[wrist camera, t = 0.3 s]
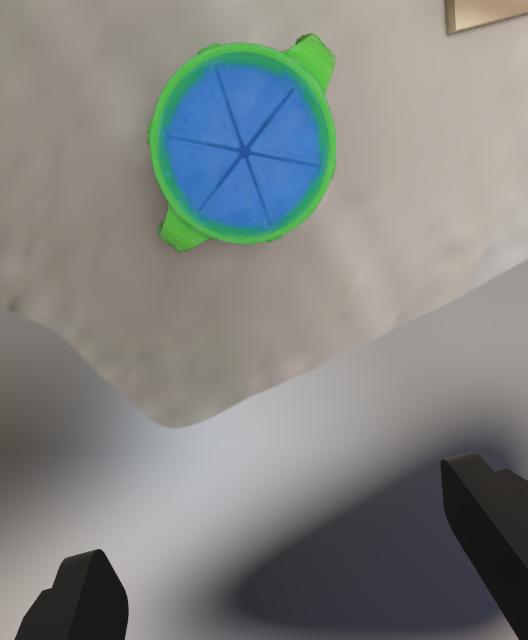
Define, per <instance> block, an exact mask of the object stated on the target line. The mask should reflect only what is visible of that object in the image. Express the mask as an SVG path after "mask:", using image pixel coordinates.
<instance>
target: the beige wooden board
mask: <svg viewBox="0 0 528 640" xmlns="http://www.w3.org/2000/svg"><path fill="white" fill-rule="evenodd" d="M524 14H528V0H446V16H447V34H451V33H455V32H459V31H463V30H467V29H471V28H474V27H478V26H482V25H486V24H490V23H494V22H498V21H501V20H505V19H509V18H513V17H517V16H521V15H524Z"/></svg>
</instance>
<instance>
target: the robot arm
mask: <svg viewBox="0 0 528 640" xmlns="http://www.w3.org/2000/svg"><path fill="white" fill-rule="evenodd" d="M440 467H441V480H442V493H443V505H444V511H445V514H446V518H447V520H448V523H449V525H450V527H451V530H452V532H453V533H454V535H455V537H456V538H457V540H458V542H459V543H460V545H461V547H462V548H463V550H464V552H465V553H466V555H467V556H468V558H469V560H470V561H471V563H472V564H473V566H474V568H475V569H476V571H477V573H478V574H479V576H480V577H481V579H482V580H483V582H484V584H485V586H486V587H487V589H488V590H489V592H490V594H491V595H492V597H493V598H494V600H495V602H496V603H497V605H498V607H499V608H500V610H501V611H502V613H503V615H504V616H505V618H506V619H507V621H508V623H509V624H510V626H511V628H512V629H513V631H514V632H515V634H516V636H517V637H518V639H519V640H528V481H527V480H525V479H524V478H522V477H520V476H518V475H517V474H515V473H513V472H512V471H510V470H508V469H505V470H501V471H497V472H494V471H493V470H492V469H491V468H490V467H489V465H488V464H487V463H486V462H485V461H484V460H483V458H482V457H481V456H480V455H479V454H477V453H476V452H469V453H465V454H461V455H458V456H454V457H450V458H446V459H443V460H441V463H440ZM128 615H129V608H128V599H127V594H126V592H125V589H124V587H123V585H122V583H121V582H120V580H119V578H118V576H117V574H116V573H115V571H114V569H113V567H112V566H111V564H110V562H109V560H108V558H107V557H106V555H105V553H104V552H103V551H102V550H101V549H97V550H93V551H90V552H86V553H82V554H78V555H75V556H71V557H67V558H65V559H64V560H63V562H62V563H61V565H60V567H59V570H58V572H57V575H56V578H55V581H54V583H53V586H52V588H50V589H47V590H43V591H42V592H41V593H40V595H39V596H38V598H37V599H36V601H35V602H34V603H33V605H32V606H31V608H30V609H29V610H28V612H27V613H26V615H25V616H24V617H23V620H22V622H21V625H20V627H19V630H18V632H17V635H16V637H15V640H125V635H126V629H127V624H128Z"/></svg>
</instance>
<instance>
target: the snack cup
mask: <svg viewBox="0 0 528 640" xmlns="http://www.w3.org/2000/svg"><path fill="white" fill-rule="evenodd" d="M334 65H335V56H334V54H333V53H332V52H331V51H330V50H329V49H328V48H327V47H326V46H325V44H323V43H322V42H321V40H320V38H319V37H318V36H316V35H315V34H307V35H302V36H301V37H299V38H298V39H297V41H296V45H295V46H293V47H292V48H290V49H289V50H286V51H284V52H279V51H276V50H274V49H271V48H269V47H266V46H262V45H257V44H252V43H230V44H225V45H220V44H216V43H215V44H213V45H211V46H208V47H206V48H203V49H200V50H199V52H198V54H197V55H196V56H195V57H193V58H192V59H190V60H189V61H188V62H186V63H185V64H184V65H183V66H182V67H181V68H179V69H178V70H177V71H176V73H175V74H174V75H173V76H172V77H171V78H170V80H169V81H168V83H167V84H166V86H165V87H164V89H163V91H162V93H161V95H160V97H159V99H158V102H157V104H156V107H155V110H154V114H153V118H152V121H150V122H149V126H148V136H147V143H148V144H149V146H150V155H151V161H152V166H153V170H154V173H155V176H156V179H157V181H158V184H159V186H160V188H161V190H162V192H163V194H164V196H165V197H166V199H167V201H168V211H167V214H166V217H165V221H163V222H162V223H161V224H159V225H158V235H159V237H160V238H161V239H162V240H163V241H164V242H167V243H168V244H169V245H170V246H172V247H173V248H174V249H175V250H177V251H178V252H180V253H181V252H186V251H188V250H189V249H192V248H193V247H195V246H197V245H199V244H201V243H203V242H204V241H206V240H209V239H217V240H220V241H224V242H228V243H235V244H256V243H261V242H271V241H274V240H277V239H279V238H281V237H282V236H283V235H284V234H286V233H288V232H289V231H291V230H293V229H294V228H296V227H297V226H298V225H300V224H301V223H302V222H303V221H304V220H306V219H307V218H308V217H309V216H310V215H311V213H312V212H313V211H314V210H315V208H316V207H317V205H318V204H319V203H320V201H321V199H322V197H323V196H324V194H325V192H326V190H327V187H328V185H329V182H330V179H332V178H333V175H334V171H335V168H336V160H335V156H336V132H335V127H334V122H333V118H332V114H331V111H330V109H329V106H328V104H327V101H326V99H325V93H326V89H327V86H328V83H329V81H330V78H331V75H332V71H333V68H334Z"/></svg>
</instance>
